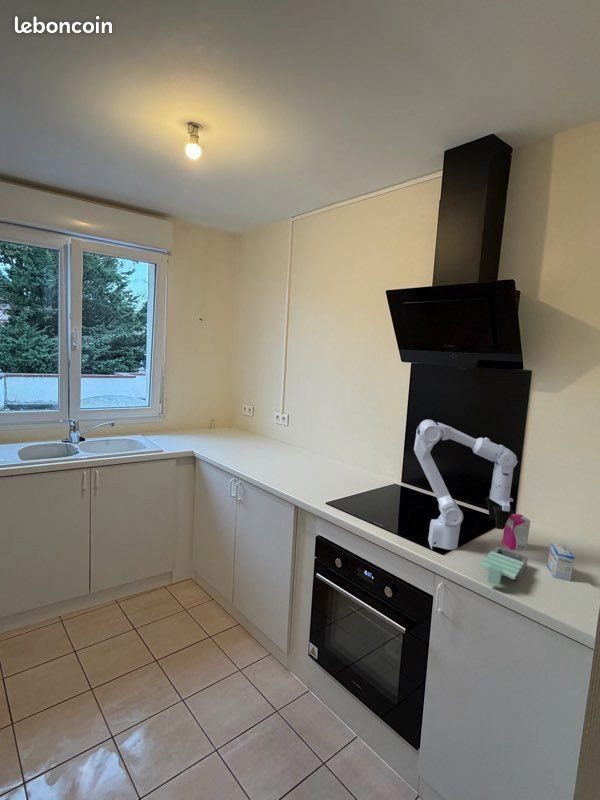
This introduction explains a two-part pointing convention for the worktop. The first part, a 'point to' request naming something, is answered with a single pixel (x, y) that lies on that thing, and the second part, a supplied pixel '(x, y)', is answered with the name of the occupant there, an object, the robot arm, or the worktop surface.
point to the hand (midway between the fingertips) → (496, 524)
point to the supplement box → (516, 532)
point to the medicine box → (560, 562)
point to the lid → (500, 567)
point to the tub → (511, 554)
